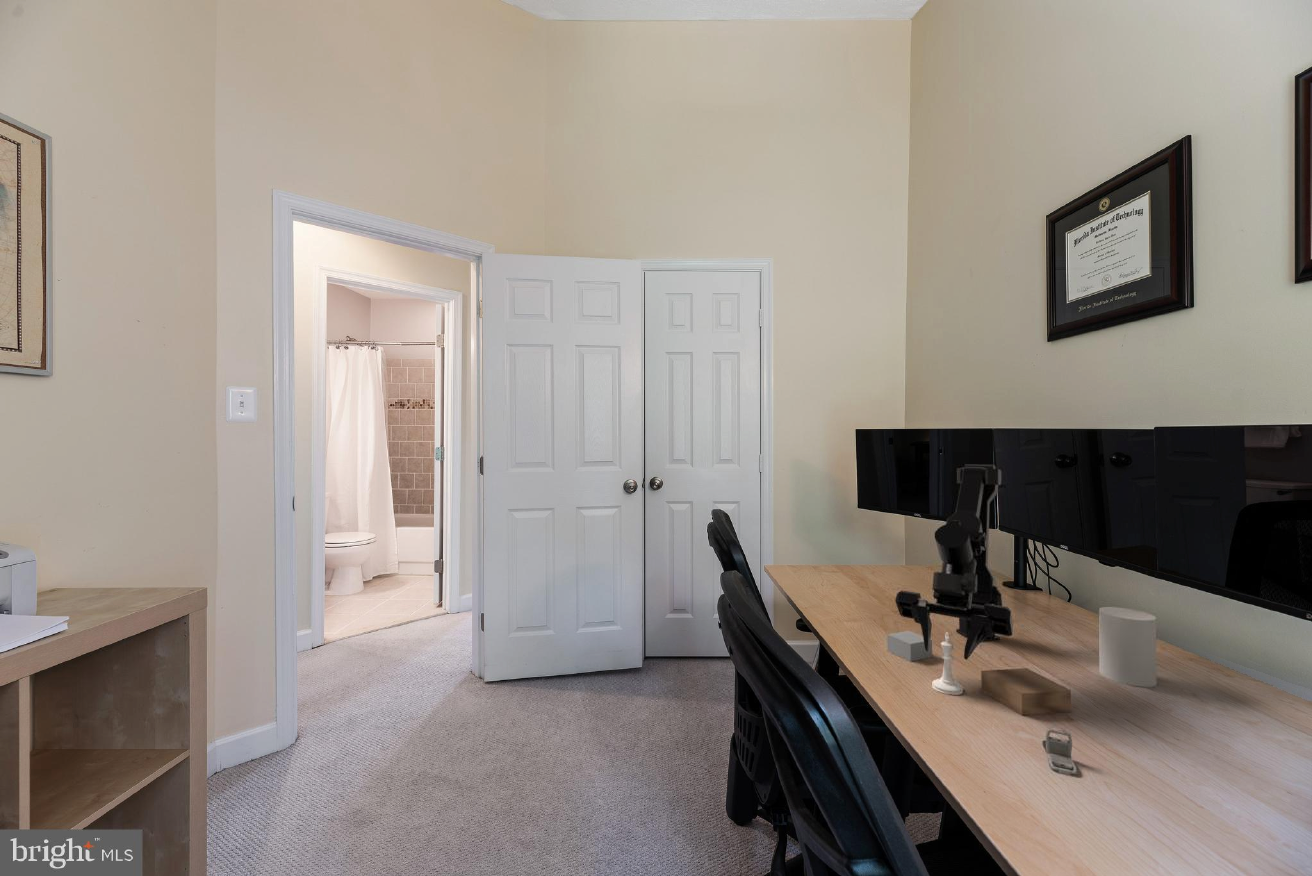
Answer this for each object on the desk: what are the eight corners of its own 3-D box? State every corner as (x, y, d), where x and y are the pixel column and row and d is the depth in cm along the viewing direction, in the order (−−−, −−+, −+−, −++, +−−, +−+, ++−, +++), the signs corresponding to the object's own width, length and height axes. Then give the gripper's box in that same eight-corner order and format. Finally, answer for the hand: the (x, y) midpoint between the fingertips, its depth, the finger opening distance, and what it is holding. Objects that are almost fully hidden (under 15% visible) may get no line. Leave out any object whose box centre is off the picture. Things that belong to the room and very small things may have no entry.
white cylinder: (1146, 673, 105) (1145, 610, 105) (1164, 690, 98) (1163, 622, 98) (1093, 665, 109) (1093, 605, 109) (1107, 681, 101) (1106, 616, 101)
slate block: (908, 647, 118) (908, 630, 118) (932, 657, 113) (932, 639, 113) (887, 651, 116) (887, 634, 116) (910, 661, 110) (910, 644, 110)
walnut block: (1026, 687, 99) (1026, 668, 99) (1071, 711, 90) (1071, 690, 90) (981, 690, 97) (981, 670, 97) (1021, 715, 88) (1021, 693, 89)
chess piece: (960, 685, 100) (959, 629, 100) (965, 697, 95) (965, 639, 95) (930, 681, 101) (929, 626, 101) (934, 692, 97) (933, 635, 97)
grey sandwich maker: (1078, 780, 72) (1078, 747, 72) (1050, 773, 73) (1050, 741, 73) (1066, 748, 80) (1066, 719, 80) (1040, 743, 81) (1041, 714, 81)
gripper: (897, 548, 107) (881, 619, 98) (1010, 561, 96) (1003, 642, 87) (908, 581, 113) (893, 650, 105) (1015, 596, 102) (1009, 676, 93)
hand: (945, 654), depth 97 cm, fingers open, 6 cm apart
